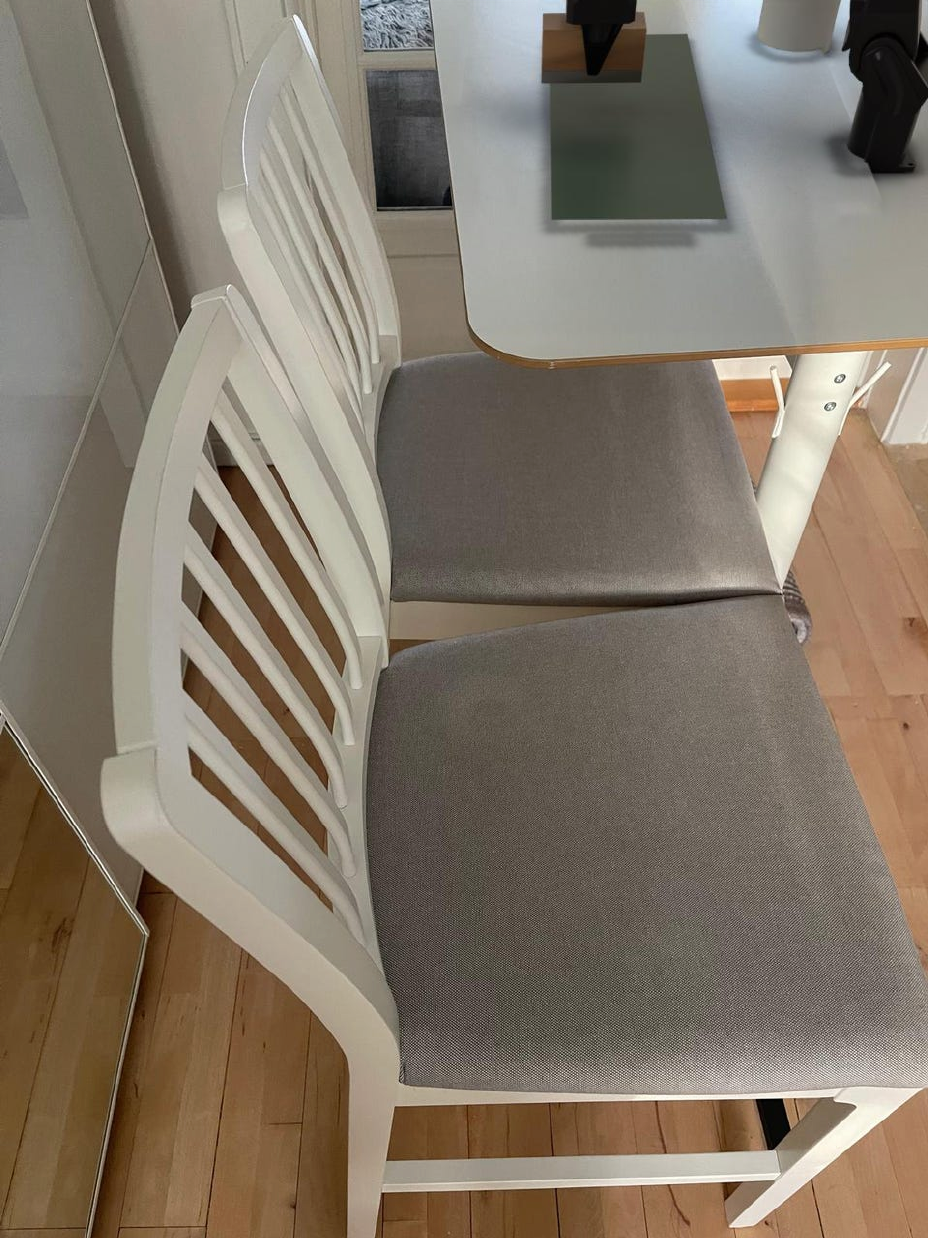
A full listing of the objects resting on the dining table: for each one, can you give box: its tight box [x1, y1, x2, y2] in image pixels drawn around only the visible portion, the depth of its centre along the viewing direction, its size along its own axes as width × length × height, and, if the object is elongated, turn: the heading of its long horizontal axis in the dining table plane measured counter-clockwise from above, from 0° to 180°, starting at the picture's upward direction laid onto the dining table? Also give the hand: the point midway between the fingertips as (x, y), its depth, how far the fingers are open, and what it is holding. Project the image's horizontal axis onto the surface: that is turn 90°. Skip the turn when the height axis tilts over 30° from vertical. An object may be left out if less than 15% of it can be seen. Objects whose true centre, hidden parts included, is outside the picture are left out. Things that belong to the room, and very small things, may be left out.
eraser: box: [540, 11, 648, 85], centre depth 98 cm, size 4×10×5 cm, turn 87°
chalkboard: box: [549, 33, 728, 221], centre depth 103 cm, size 40×16×1 cm, turn 177°
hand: (592, 65), depth 99 cm, fingers closed on eraser, 4 cm apart
